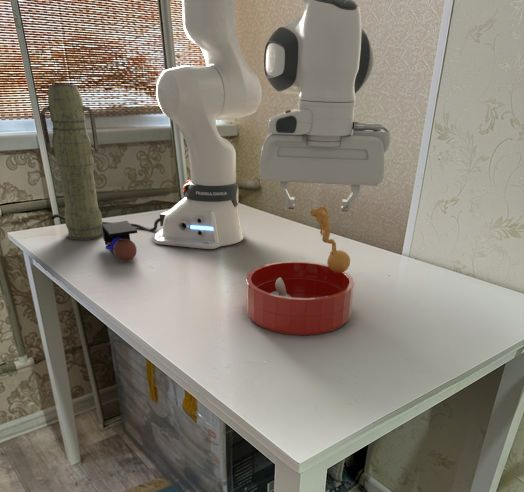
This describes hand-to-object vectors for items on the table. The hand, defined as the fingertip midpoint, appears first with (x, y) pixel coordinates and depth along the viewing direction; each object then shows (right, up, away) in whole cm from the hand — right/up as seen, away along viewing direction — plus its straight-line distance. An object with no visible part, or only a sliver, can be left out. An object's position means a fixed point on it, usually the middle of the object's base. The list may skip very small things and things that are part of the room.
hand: (317, 210), depth 86 cm
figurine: (+6, -9, +4) cm, 12 cm away
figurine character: (-43, -1, +33) cm, 54 cm away
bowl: (-3, -17, +5) cm, 18 cm away
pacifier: (-5, -17, +5) cm, 18 cm away
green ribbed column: (-55, +6, +46) cm, 73 cm away
